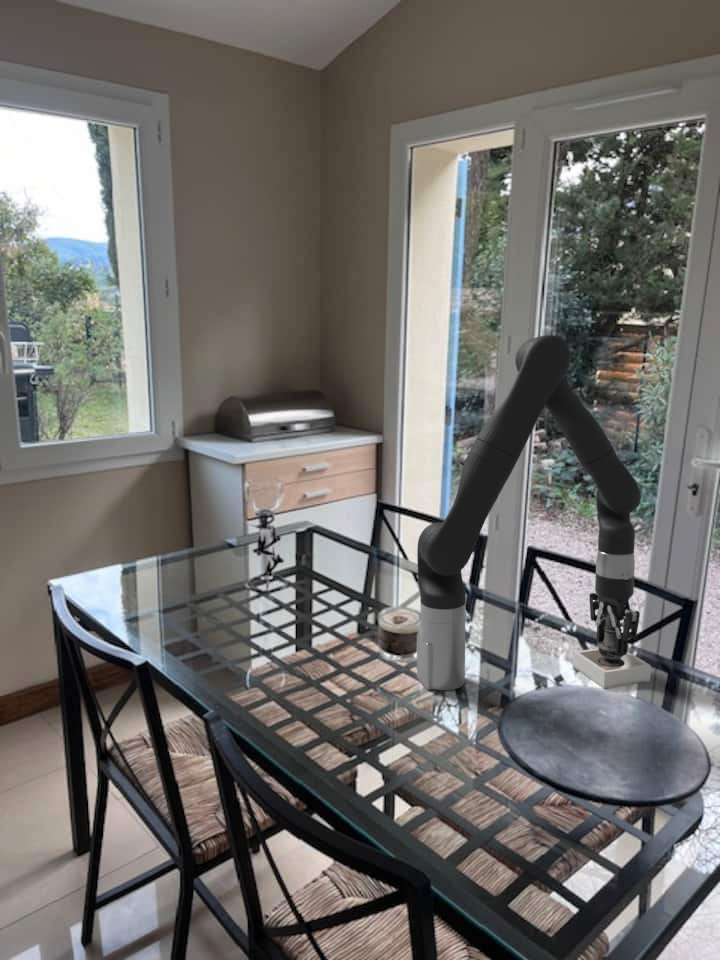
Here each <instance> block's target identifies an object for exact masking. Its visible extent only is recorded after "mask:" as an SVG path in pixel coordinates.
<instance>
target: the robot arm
mask: <svg viewBox="0 0 720 960" xmlns="http://www.w3.org/2000/svg"><path fill="white" fill-rule="evenodd" d="M570 349H571V348H570V347H569V344H568V343H567V342H566V341H565V340H564V339H563V337H562V338H561V337H560V336H557V335H552V334H545V335H540V336H537V337H533V338H529V339H528V340H526V341H524V342H522V343H521V345H520V346H519V348H518V349H517V351H516V354H515V358H514V362H515V367H516V370H517V372H518V373H517V375H516V378H515V380H514V382H513V384H512V387H511V389H510V390H509V392H508V394H507V395H506V397H505V398H504V400H503V401H502V402H501V404H500V405H499V406H498V407H497V409H496V410H495V411H494V412H493V413H492V415H491V416H490V417H489V418H488V420H487V421H486V422H485V424H484V426H482V428H481V429H480V431H479V433H478V434H477V436H476V438H475V440H474V442H473V444H472V446H471V447H470V450H469V452H468V453H467V456H466V458H465V461H464V464H463V467H462V469H461V470H462V471H461V474H460V477H459V478H460V479H459V484H458V487H457V488H458V489H457V491H456V495H455V498H454V502H453V504H452V507H451V508H450V510H449V512H448V513H447V515H446V517H445V519H444V520H443V522H433V523H430V524H428V526H426V527H425V528H424V529H423V530H422V531H421V533H420V535H419V536H418V541H417V548H416V549H417V551H416V552H417V554H416V556H417V557H416V558H417V559H416V560H417V581H418V588H419V596H420V601H419V602H420V616H419V617H420V618H419V619H420V623H419V625H420V629H419V630H420V634H417V636H416V678H417V680H418V681H419V682H420V683H421V685H423V686H424V687H425V689H426V690H437V691H452V690H453V691H454V690H457V689H460V688H461V687H463V686H464V685H465V681H466V615H467V614H466V612H467V611H466V604H467V600H466V596H467V595H466V594H467V593H466V588H465V587H466V586H465V584H464V581H463V576H462V575H463V573H462V570H463V569H464V568H465V567H466V566H467V564H468V563H469V561H470V559H471V556H472V554H473V552H474V550H475V547H476V545H477V542H478V539H479V537H480V534H481V531H482V529H483V528H484V527H483V526H484V524H485V522H486V520H487V518H488V516H489V514H490V512H491V511H492V508H493V507H494V505H495V503H496V501H497V499H498V498H499V495H500V494H501V492H502V490H503V488H504V486H505V484H506V483H507V481H508V479H509V477H510V476H511V474H512V472H513V470H514V469H515V466H516V464H517V462H518V460H519V459H520V457H521V454H522V452H523V451H524V448H525V447H526V445H527V442H528V440H529V438H530V436H531V434H532V432H533V430H534V428H535V425H536V423H537V421H538V419H539V417H540V415H541V413H542V411H543V409H544V408H546V409H547V410H548V412H549V414H550V415H551V416H552V418H553V420H554V421H555V423H556V424H557V426H558V428H559V430H560V431H561V432H562V435H563V436H564V438H565V439H566V441H567V443H568V445H569V446H570V448H571V450H572V452H573V454H574V455H575V457H576V459H577V461H578V462H579V464H580V466H581V467H582V469H583V470H584V471H585V472H586V473H587V474H588V475H589V476H590V477H591V478H592V480H593V482H594V483H595V485H596V486H597V487H596V495H595V504H596V513H597V514H596V515H597V520H598V540H597V541H598V542H597V555H596V560H595V561H596V562H595V581H594V582H595V585H594V586H595V589H594V590H595V592H590V593H589V597H588V599H589V614H590V620H591V621H592V622H595V627H596V643H597V644H598V643H599V642H601V641H604V638H605V630H604V627H605V626H606V614H609V615H610V617H611V622H612V626H613V627H614V628H615V630H616V635H617V638H616V654H617V655H618V656H623V655H626V654H627V652H629V651H628V648H629V647H628V646H629V639H636V637H637V635H638V628H639V623H640V616H641V614H640V612H639V610H632V608H631V607H630V606H631V605H630V602H629V601H630V599H631V598H632V596H633V595H634V590H635V589H634V588H635V587H634V586H635V569H636V567H635V565H636V561H635V541H636V538H635V537H636V532H635V527H634V525H633V524H632V521H631V513H633V512H634V511H635V510H636V509H638V507H639V505H640V503H641V501H642V494H641V489H640V487H639V485H638V483H637V482H636V480H635V478H634V477H633V475H632V474H631V473H630V471H629V470H628V469H627V468H626V466H625V464H624V463H623V462H622V461H621V460H620V458H619V457H618V455H617V453H616V451H615V449H614V447H613V445H612V444H611V442H610V440H609V438H608V436H607V435H606V433H605V431H604V429H603V428H602V426H601V425H600V424H599V422H598V421H597V419H595V417H594V416H593V414H592V413H591V412H590V411H589V410H588V409H587V408H586V406H584V404H583V403H582V402H581V401H580V399H579V398H578V397H577V395H576V394H575V392H574V391H573V389H572V388H571V386H570V384H569V383H568V382H569V381H568V380H567V378H566V374H567V373H568V371H569V369H570V365H571V360H572V356H571V355H572V353H571V350H570ZM596 610H597V613H596ZM617 621H620V623H618V622H617ZM621 621H623V622H621ZM621 627H622V628H623V629H622V628H621ZM621 629H622V631H621Z"/></svg>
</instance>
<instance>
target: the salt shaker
mask: <svg viewBox="0 0 720 960" xmlns="http://www.w3.org/2000/svg"><path fill="white" fill-rule="evenodd" d="M617 622H618V623H621V621H617ZM604 630H605V638H604V641H601V642H599V643H597V645H596V646H597V648H599V652H600V654H601V655H602V656H603V657H600V658H599V659H598V662H599V663H600V664H602V665H604V666H608V667H621V666H623V665H624V661H623V660H621V659H620V658H621V657H623V656H618V655H617V654H616V638H617V635H616V630H615V628H614V627H613V626H612V622H611V617H610V615H609V614H606V626H605V627H604ZM621 632H623V629H622V628H621Z"/></svg>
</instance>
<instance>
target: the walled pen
mask: <svg viewBox="0 0 720 960" xmlns="http://www.w3.org/2000/svg"><path fill="white" fill-rule="evenodd" d="M600 657H603V656H602V655H601V654H600V652H599V648H598V647H597V648H589V649H584V650H576V651H573V661H572V662H573V663H572V664H573V665H572V667H573V668H574V669H575V670H576V671H578V672H579V673H581V674H582V675H583V676H585V677H586V678H588V679H589V680H590V681H592V682H593V683H595V684H596V685H598V686H599V687H601V688H602V687H603V688H606V689H611V688H617V687H623V686H629V685H636V684H641V683H649V682H651V669H652V668H651V667H652V665H651V664H649V663H647V662H646V661H644V660H643V659H642V658H639V657H638V656H636V655H634V654H632V653H630V651H628V652H627V654H626V655H623V657H621V658H620V659H621V660H623V661H624V665H623V666H621V667H608V666H604V665H602V664H600V663H599V662H598V659H599V658H600ZM603 688H602V689H603Z"/></svg>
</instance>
